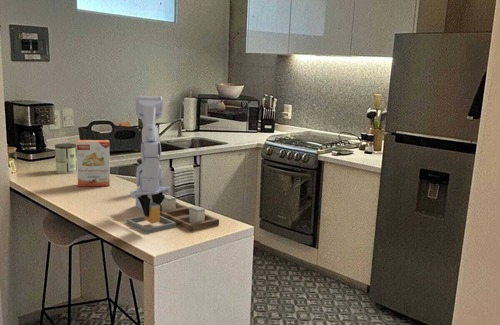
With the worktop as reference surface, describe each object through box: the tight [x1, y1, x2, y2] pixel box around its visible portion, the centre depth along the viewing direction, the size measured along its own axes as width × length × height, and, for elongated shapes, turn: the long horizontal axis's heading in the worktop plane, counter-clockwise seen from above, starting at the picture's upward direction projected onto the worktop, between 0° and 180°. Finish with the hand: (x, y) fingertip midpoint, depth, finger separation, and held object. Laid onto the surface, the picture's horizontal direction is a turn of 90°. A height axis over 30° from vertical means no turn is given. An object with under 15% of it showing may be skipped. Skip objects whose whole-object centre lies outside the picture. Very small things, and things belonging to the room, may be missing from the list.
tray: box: [125, 215, 177, 234], centre depth 167 cm, size 14×12×2 cm
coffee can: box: [54, 142, 78, 175], centre depth 247 cm, size 10×10×14 cm
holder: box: [160, 201, 220, 232], centre depth 175 cm, size 28×12×3 cm, turn 42°
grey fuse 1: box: [161, 194, 177, 212], centre depth 181 cm, size 5×3×6 cm, turn 42°
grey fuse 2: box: [188, 205, 206, 224], centre depth 168 cm, size 5×3×6 cm, turn 42°
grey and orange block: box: [144, 202, 161, 224], centre depth 166 cm, size 5×3×6 cm, turn 42°
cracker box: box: [76, 139, 111, 188], centre depth 220 cm, size 14×6×21 cm, turn 105°
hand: (151, 215), depth 166 cm, fingers closed on grey and orange block, 3 cm apart
